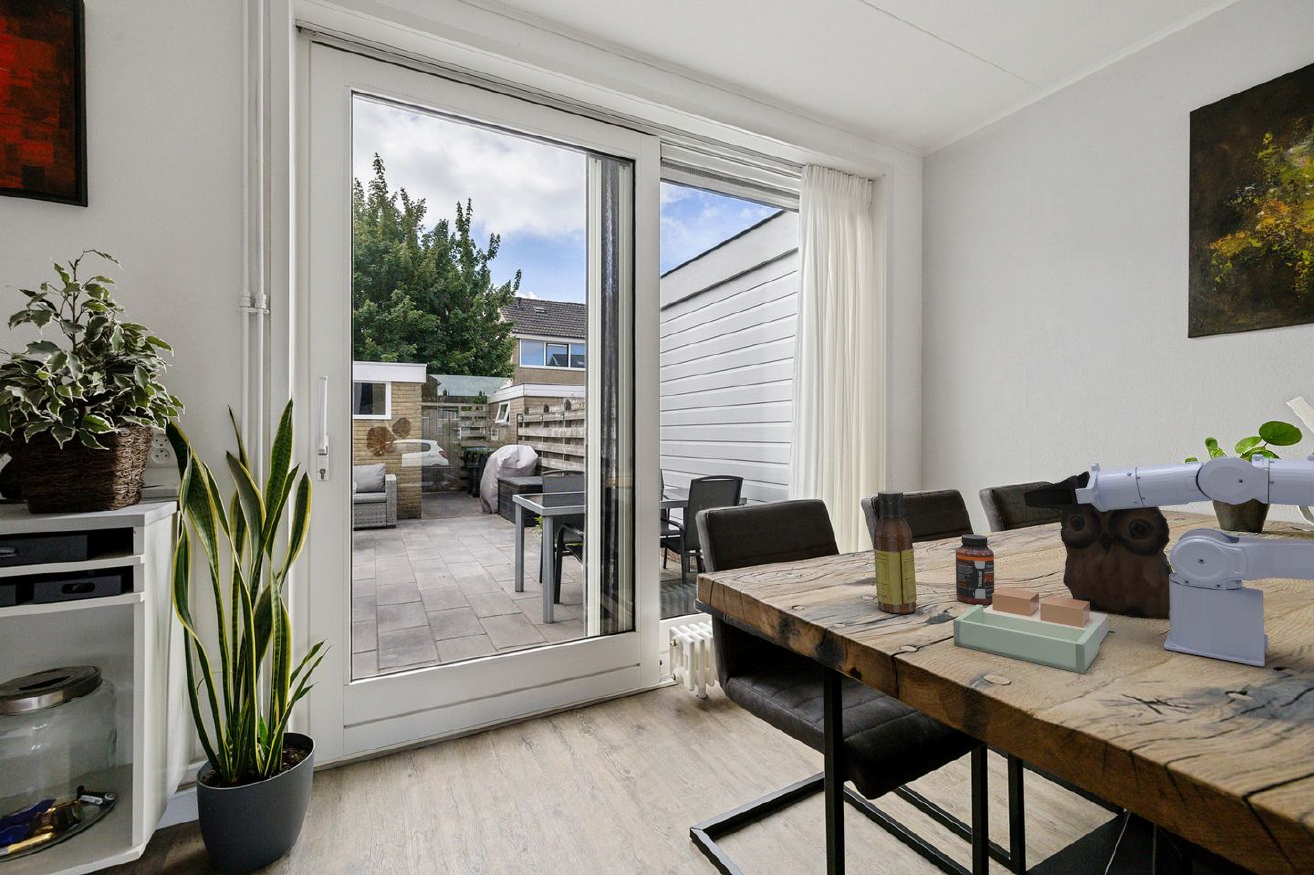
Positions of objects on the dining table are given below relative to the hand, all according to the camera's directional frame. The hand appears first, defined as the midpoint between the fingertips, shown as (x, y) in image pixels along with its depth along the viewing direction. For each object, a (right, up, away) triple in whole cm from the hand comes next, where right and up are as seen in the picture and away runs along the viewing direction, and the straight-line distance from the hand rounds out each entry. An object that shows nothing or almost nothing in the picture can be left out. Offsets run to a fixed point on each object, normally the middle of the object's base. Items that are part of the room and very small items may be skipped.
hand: (1032, 496), depth 94 cm
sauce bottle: (-19, -20, +6) cm, 28 cm away
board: (-2, -19, -5) cm, 20 cm away
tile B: (-4, -17, -3) cm, 18 cm away
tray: (-9, -19, -12) cm, 25 cm away
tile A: (-1, -17, -8) cm, 19 cm away
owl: (+18, -19, +5) cm, 27 cm away
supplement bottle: (-3, -19, +11) cm, 22 cm away
